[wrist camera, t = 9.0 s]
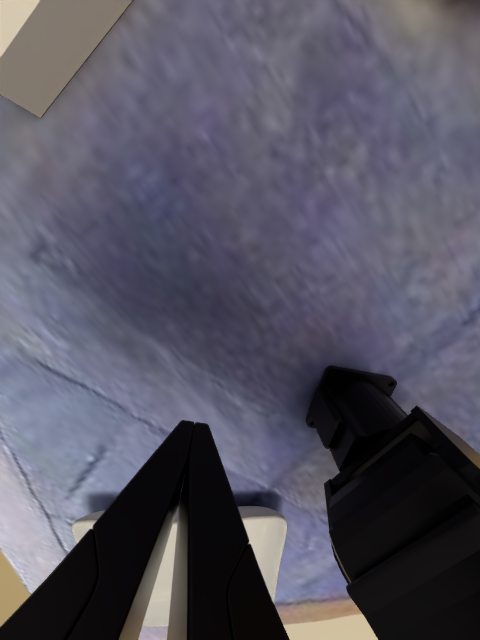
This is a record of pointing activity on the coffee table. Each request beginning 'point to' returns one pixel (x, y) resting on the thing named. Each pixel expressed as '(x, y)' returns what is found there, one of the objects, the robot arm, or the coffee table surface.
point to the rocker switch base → (49, 45)
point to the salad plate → (260, 526)
